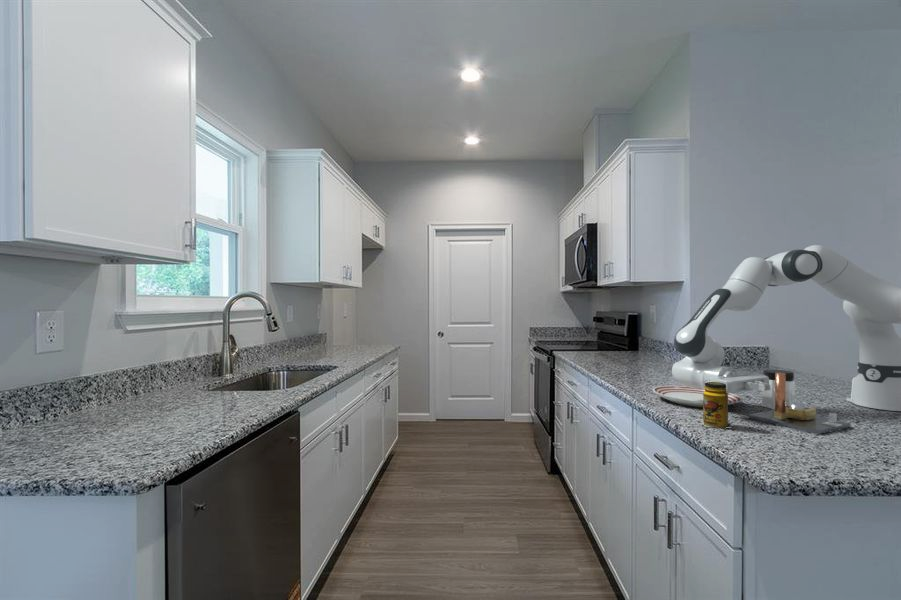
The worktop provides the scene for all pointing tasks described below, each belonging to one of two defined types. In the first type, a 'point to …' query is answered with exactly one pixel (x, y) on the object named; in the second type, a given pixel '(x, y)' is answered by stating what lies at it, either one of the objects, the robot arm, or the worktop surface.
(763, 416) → the post base
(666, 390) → the dinner plate
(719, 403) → the condiment
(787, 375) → the jar
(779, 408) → the copper and beige l-shape
